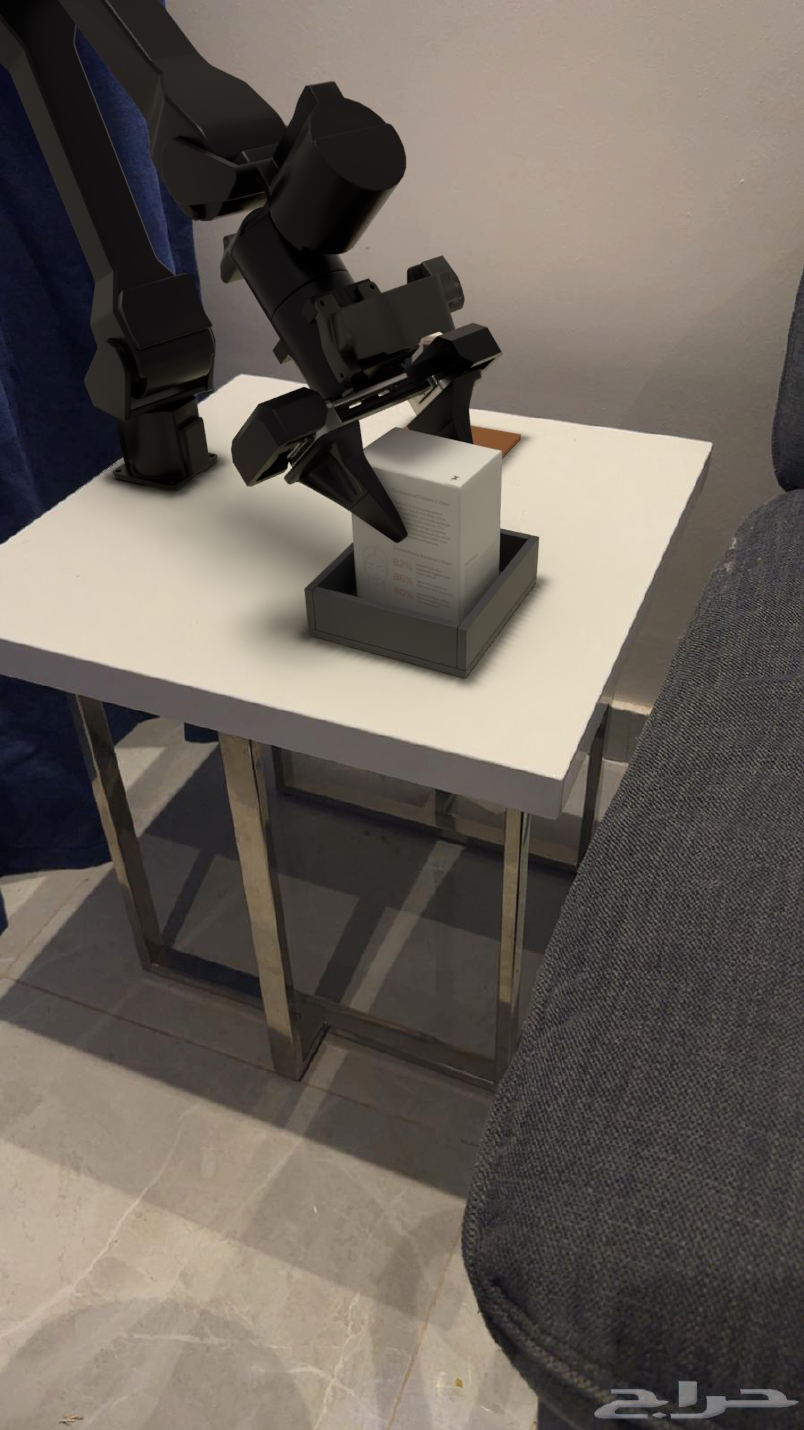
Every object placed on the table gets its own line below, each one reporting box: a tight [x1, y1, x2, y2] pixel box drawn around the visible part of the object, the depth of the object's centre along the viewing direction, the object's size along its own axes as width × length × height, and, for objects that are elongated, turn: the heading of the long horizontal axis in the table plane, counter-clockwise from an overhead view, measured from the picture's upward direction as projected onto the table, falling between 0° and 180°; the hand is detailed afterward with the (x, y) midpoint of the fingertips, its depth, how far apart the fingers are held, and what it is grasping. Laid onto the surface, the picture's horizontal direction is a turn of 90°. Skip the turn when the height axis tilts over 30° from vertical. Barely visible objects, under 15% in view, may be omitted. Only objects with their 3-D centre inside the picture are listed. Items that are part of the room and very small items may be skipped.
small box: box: [350, 426, 503, 623], centre depth 66 cm, size 8×6×10 cm
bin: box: [303, 527, 540, 679], centre depth 68 cm, size 11×12×4 cm
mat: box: [402, 425, 522, 459], centre depth 88 cm, size 10×9×1 cm
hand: (441, 519), depth 64 cm, fingers closed on small box, 6 cm apart
